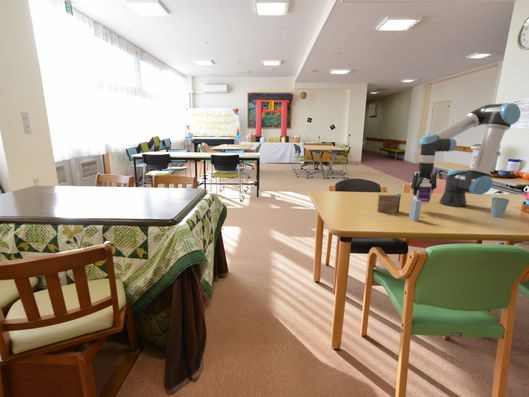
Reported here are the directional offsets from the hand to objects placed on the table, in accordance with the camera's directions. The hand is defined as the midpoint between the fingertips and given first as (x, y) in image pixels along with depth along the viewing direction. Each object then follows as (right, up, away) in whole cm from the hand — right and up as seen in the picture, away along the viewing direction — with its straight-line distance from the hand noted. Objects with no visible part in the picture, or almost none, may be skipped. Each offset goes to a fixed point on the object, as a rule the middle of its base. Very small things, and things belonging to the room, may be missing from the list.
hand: (422, 200), depth 175 cm
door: (-21, -7, -1) cm, 22 cm away
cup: (+40, -10, -6) cm, 42 cm away
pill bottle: (0, -2, 0) cm, 2 cm away
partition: (-14, -9, -8) cm, 19 cm away
